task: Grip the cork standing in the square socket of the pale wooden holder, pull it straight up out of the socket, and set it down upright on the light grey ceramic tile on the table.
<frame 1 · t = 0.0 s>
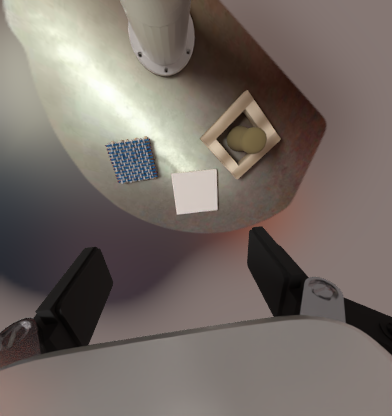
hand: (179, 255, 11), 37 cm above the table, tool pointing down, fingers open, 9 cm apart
wooden holder: (238, 138, 43), on the table
ceramic tile: (195, 192, 48), on the table
cork: (238, 138, 44), resting in wooden holder
woven mat: (133, 160, 44), on the table
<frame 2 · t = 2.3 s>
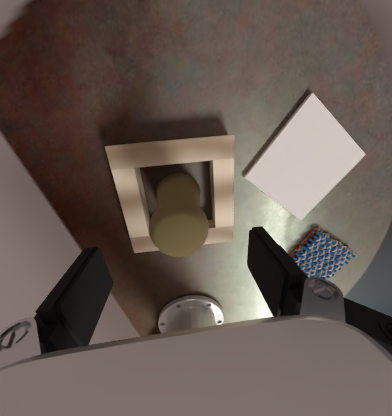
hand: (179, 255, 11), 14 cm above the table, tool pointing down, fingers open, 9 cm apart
wooden holder: (178, 194, 24), on the table
ceramic tile: (302, 165, 24), on the table
cork: (178, 193, 24), resting in wooden holder
woven mat: (310, 256, 32), on the table
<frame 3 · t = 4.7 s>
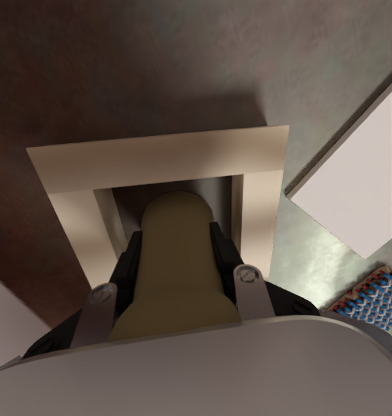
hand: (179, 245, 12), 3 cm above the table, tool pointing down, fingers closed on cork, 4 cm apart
wooden holder: (178, 225, 14), on the table
ceramic tile: (383, 177, 14), on the table
cork: (178, 223, 15), resting in wooden holder, touching gripper
woven mat: (362, 300, 23), on the table
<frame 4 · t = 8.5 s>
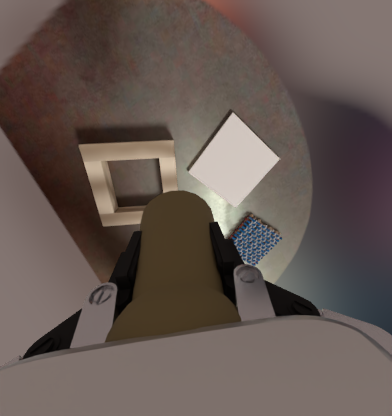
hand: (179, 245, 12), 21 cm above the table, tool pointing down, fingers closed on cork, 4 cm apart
wooden holder: (138, 182, 31), on the table
ceramic tile: (233, 164, 32), on the table
cork: (178, 223, 14), point 18 cm above the table, touching gripper
woven mat: (249, 238, 40), on the table
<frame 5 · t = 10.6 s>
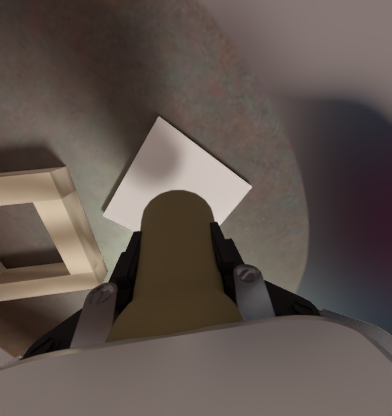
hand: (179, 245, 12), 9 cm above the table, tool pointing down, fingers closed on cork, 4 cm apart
wooden holder: (26, 234, 20), on the table
ceramic tile: (178, 199, 20), on the table
cork: (178, 222, 14), point 6 cm above the table, touching gripper
when the fingers open (4 cm above the table, at t = 12.5 s): cork stays where it is, resting on ceramic tile.
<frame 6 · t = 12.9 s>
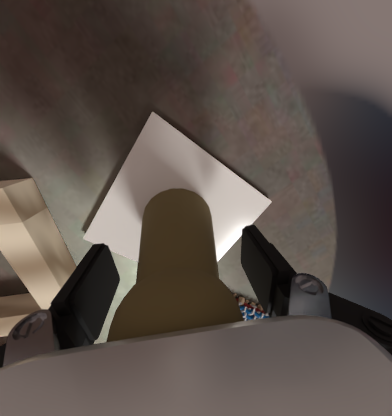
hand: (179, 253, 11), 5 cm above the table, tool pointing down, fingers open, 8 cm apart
ceramic tile: (178, 216, 16), on the table
cork: (177, 219, 15), resting on ceramic tile
woven mat: (229, 319, 24), on the table
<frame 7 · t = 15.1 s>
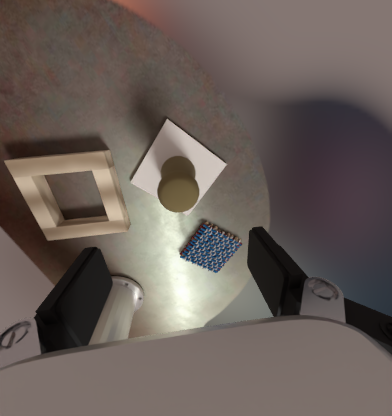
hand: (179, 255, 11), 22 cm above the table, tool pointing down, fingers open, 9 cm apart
wooden holder: (80, 195, 30), on the table
ceramic tile: (178, 172, 30), on the table
cork: (178, 173, 30), resting on ceramic tile
woven mat: (210, 245, 39), on the table
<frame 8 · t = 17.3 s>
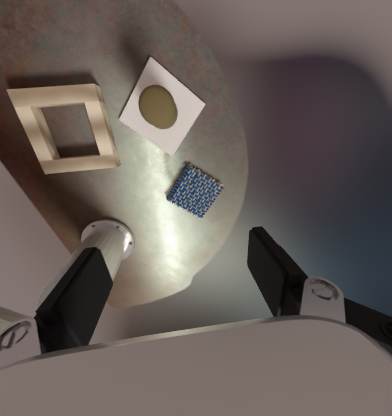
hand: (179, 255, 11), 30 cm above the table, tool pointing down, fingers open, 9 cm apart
wooden holder: (74, 132, 34), on the table
ceramic tile: (162, 112, 34), on the table
cork: (162, 112, 33), resting on ceramic tile
woven mat: (194, 191, 42), on the table
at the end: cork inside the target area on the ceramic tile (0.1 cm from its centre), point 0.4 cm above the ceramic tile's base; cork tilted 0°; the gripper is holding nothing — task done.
